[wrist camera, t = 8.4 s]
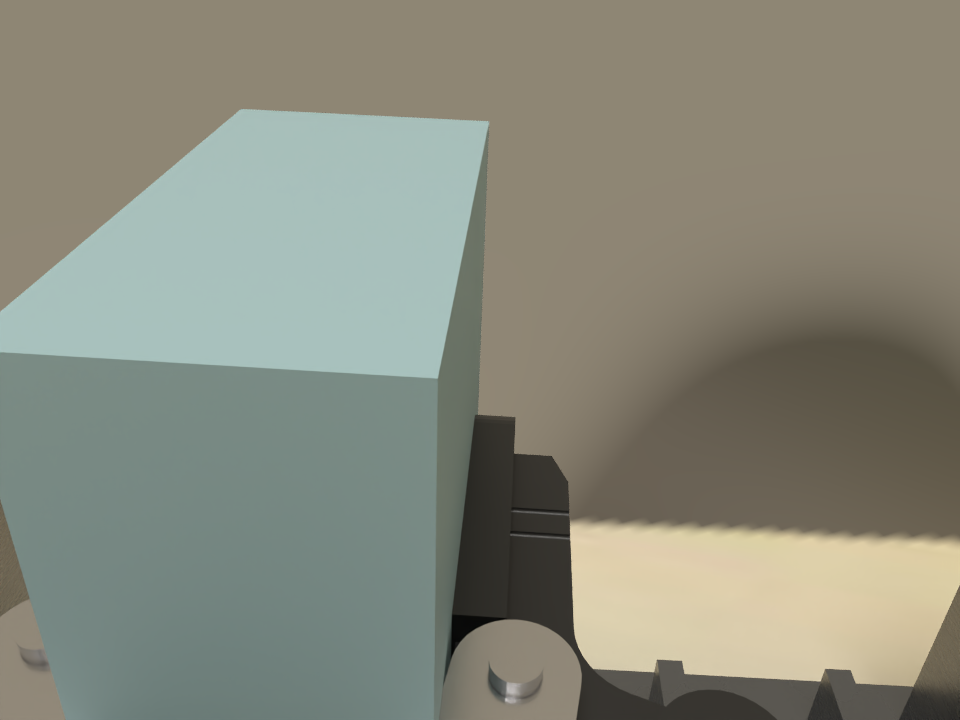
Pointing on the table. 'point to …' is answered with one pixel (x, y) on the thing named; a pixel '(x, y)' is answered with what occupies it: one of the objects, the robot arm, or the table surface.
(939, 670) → the rack
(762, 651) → the table surface
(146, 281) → the tall pale blue pillar
